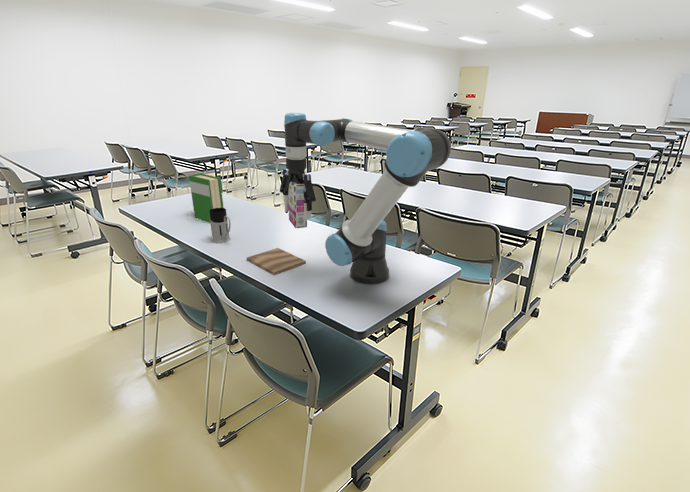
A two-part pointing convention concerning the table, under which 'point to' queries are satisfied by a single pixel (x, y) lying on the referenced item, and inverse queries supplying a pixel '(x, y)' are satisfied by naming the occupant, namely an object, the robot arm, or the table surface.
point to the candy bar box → (296, 204)
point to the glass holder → (219, 225)
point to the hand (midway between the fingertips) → (297, 214)
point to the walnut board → (276, 261)
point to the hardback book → (205, 195)
